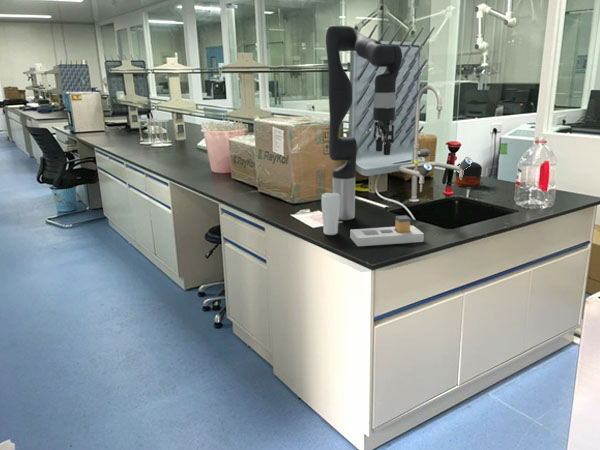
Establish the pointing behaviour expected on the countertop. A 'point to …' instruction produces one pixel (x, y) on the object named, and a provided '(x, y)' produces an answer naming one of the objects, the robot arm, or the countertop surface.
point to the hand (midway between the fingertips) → (382, 153)
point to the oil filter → (470, 176)
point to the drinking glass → (330, 212)
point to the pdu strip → (384, 236)
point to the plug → (402, 224)
